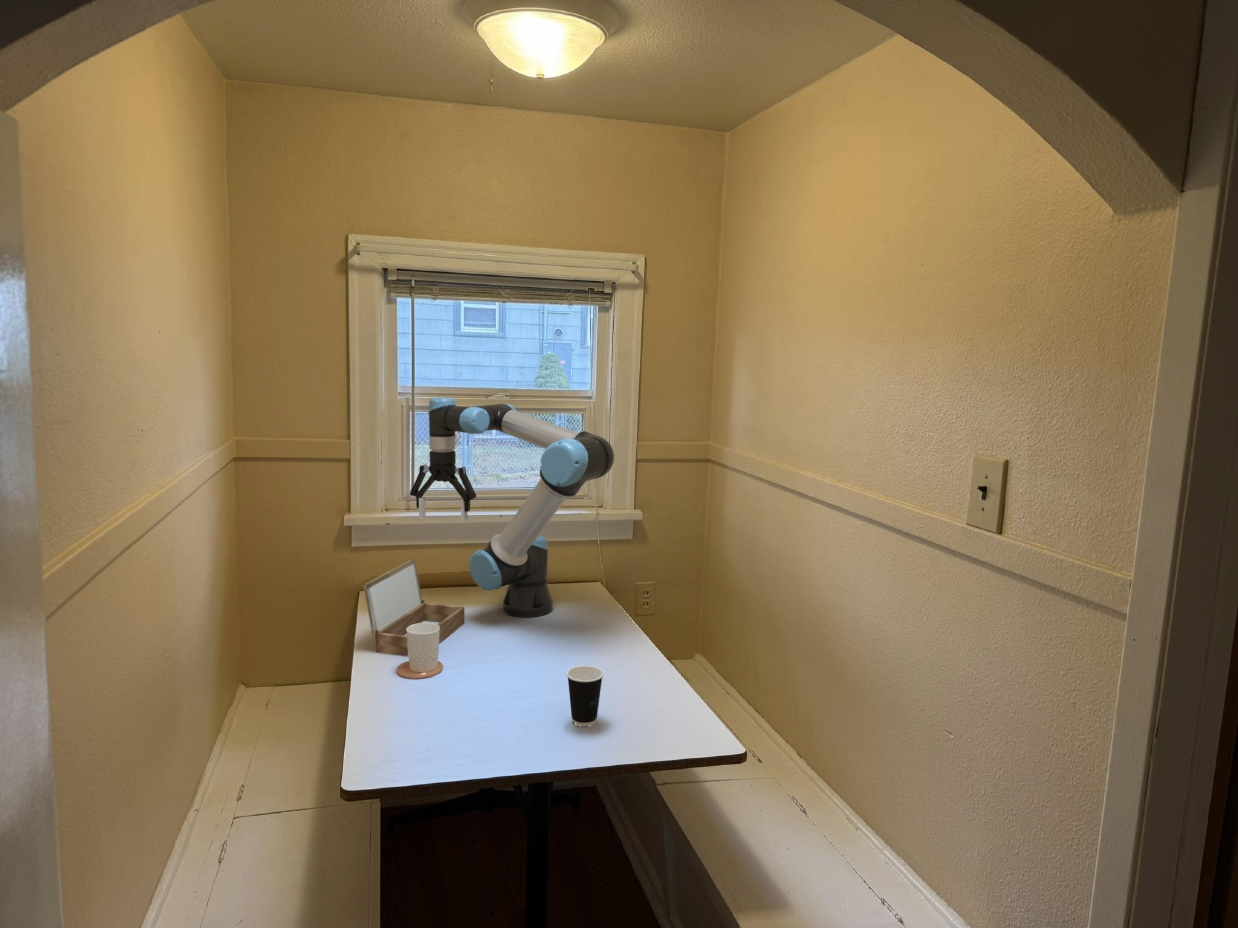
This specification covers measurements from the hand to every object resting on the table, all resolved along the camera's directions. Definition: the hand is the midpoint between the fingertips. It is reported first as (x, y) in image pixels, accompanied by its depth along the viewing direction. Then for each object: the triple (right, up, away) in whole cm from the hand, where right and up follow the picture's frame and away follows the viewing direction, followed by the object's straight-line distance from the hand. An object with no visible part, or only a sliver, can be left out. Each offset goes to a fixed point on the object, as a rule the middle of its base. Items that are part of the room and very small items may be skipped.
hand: (443, 520), depth 237 cm
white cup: (+5, -33, -42) cm, 54 cm away
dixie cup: (+45, -38, -67) cm, 90 cm away
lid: (-8, -19, -21) cm, 29 cm away
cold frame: (-1, -30, -21) cm, 37 cm away
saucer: (+4, -34, -43) cm, 54 cm away
